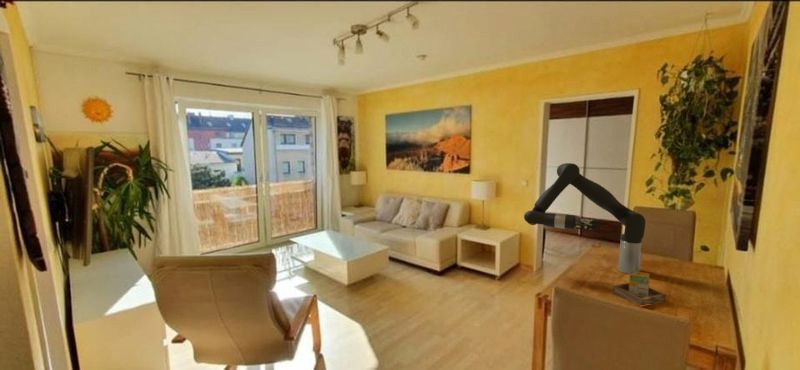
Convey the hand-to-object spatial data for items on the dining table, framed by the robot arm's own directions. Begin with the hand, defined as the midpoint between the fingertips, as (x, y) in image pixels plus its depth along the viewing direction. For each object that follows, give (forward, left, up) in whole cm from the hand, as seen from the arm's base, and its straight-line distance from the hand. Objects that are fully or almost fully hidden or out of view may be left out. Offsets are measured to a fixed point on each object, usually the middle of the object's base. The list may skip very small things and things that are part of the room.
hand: (601, 225), depth 162 cm
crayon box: (-5, +17, -29) cm, 34 cm away
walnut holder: (-5, +18, -30) cm, 35 cm away
